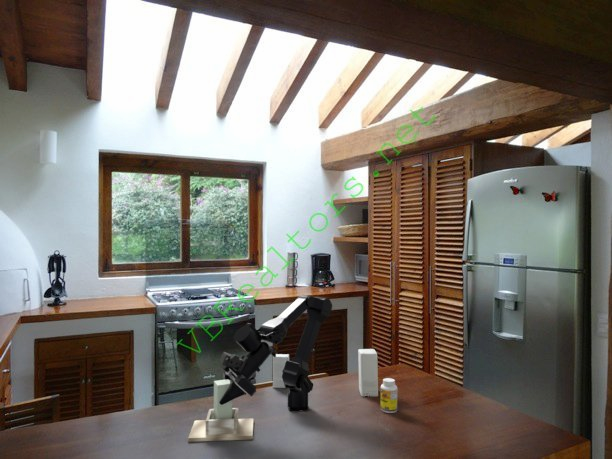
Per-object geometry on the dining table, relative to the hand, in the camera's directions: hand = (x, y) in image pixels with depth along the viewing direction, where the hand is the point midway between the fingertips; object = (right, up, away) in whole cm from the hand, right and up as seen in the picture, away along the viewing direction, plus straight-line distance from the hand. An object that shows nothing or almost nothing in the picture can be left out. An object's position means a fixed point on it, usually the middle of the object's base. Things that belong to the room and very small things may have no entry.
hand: (218, 401), depth 127 cm
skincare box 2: (+49, -11, +33) cm, 60 cm away
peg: (+1, -7, 0) cm, 7 cm away
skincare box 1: (+16, -10, +40) cm, 44 cm away
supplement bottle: (+54, -10, +17) cm, 57 cm away
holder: (+1, -9, 0) cm, 9 cm away
